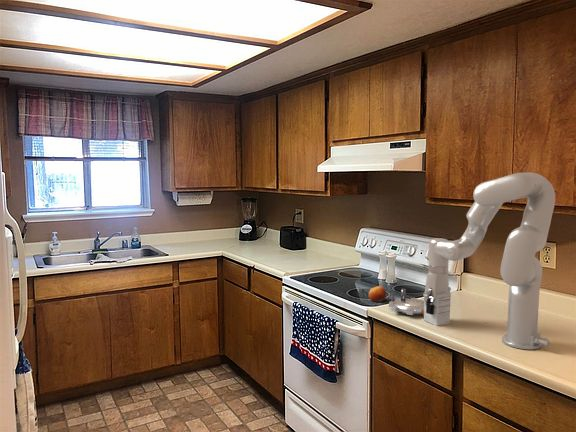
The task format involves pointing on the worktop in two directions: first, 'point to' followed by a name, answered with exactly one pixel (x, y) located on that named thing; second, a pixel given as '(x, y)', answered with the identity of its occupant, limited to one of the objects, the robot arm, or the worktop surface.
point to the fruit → (377, 294)
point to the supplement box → (439, 310)
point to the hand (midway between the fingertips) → (436, 311)
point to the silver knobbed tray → (407, 305)
